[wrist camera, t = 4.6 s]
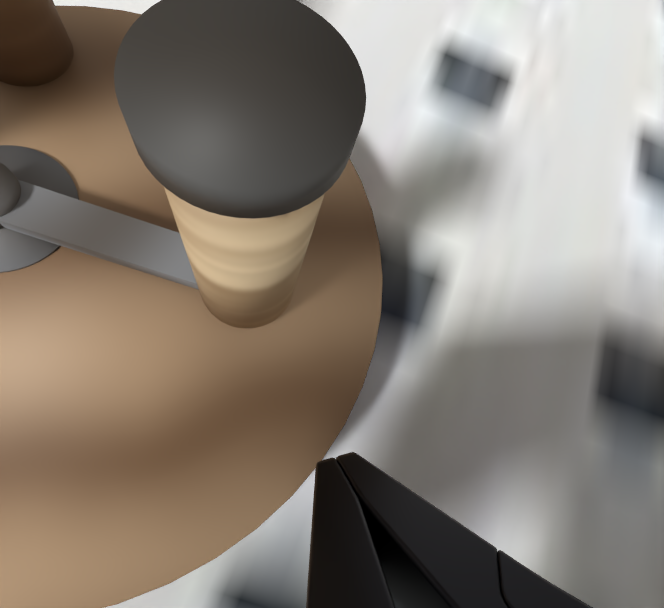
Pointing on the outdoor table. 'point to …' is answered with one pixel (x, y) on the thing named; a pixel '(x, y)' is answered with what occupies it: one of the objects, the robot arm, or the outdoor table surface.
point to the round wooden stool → (147, 350)
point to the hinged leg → (219, 150)
